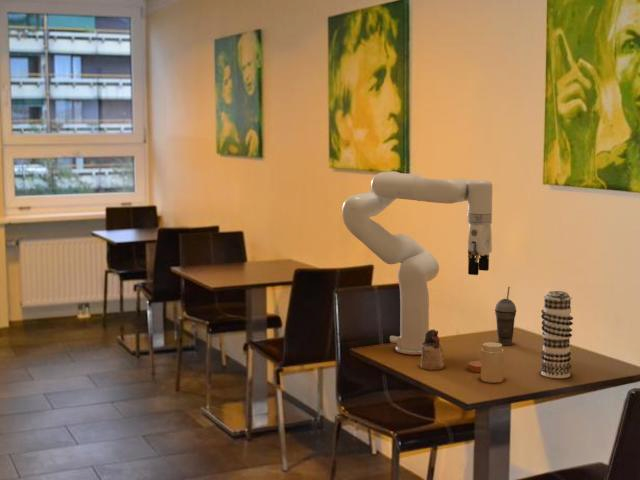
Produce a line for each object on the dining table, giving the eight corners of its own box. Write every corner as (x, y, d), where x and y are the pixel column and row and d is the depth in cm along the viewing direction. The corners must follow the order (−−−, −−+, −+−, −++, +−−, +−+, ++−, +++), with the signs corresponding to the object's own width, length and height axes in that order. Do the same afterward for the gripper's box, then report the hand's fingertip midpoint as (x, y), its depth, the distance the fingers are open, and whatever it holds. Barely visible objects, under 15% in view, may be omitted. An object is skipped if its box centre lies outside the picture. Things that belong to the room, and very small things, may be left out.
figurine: (437, 363, 282) (437, 326, 280) (447, 368, 275) (448, 330, 274) (416, 365, 279) (417, 327, 278) (427, 371, 273) (427, 332, 271)
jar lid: (496, 370, 273) (496, 364, 273) (479, 373, 269) (479, 367, 269) (480, 365, 279) (481, 359, 278) (464, 368, 275) (464, 362, 275)
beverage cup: (502, 340, 312) (503, 283, 310) (520, 343, 307) (521, 286, 304) (489, 343, 307) (490, 286, 305) (507, 347, 302) (508, 289, 299)
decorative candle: (535, 370, 272) (537, 290, 269) (564, 369, 273) (567, 289, 270) (545, 379, 263) (547, 295, 260) (576, 378, 264) (578, 294, 261)
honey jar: (477, 381, 262) (478, 345, 260) (484, 375, 268) (484, 340, 266) (500, 383, 259) (500, 348, 258) (505, 378, 265) (506, 343, 263)
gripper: (481, 222, 273) (480, 277, 275) (499, 217, 288) (498, 269, 290) (458, 221, 276) (457, 275, 279) (477, 216, 291) (476, 267, 293)
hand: (478, 272), depth 284 cm, fingers open, 9 cm apart
